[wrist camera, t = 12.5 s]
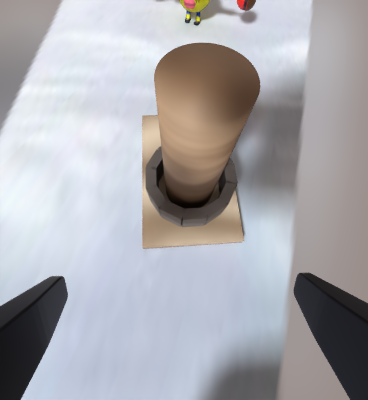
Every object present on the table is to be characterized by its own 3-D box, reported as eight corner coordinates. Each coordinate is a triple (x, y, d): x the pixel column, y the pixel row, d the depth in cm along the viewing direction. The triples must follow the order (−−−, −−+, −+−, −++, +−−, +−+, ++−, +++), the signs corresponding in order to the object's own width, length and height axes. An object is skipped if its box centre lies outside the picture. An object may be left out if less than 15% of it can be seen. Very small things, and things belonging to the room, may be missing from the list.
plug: (200, 218, 21) (238, 138, 8) (157, 197, 21) (134, 94, 9) (219, 179, 22) (273, 63, 10) (178, 160, 23) (182, 31, 11)
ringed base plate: (241, 242, 21) (255, 235, 17) (144, 248, 20) (136, 243, 17) (220, 119, 26) (228, 93, 23) (143, 121, 26) (138, 95, 22)
